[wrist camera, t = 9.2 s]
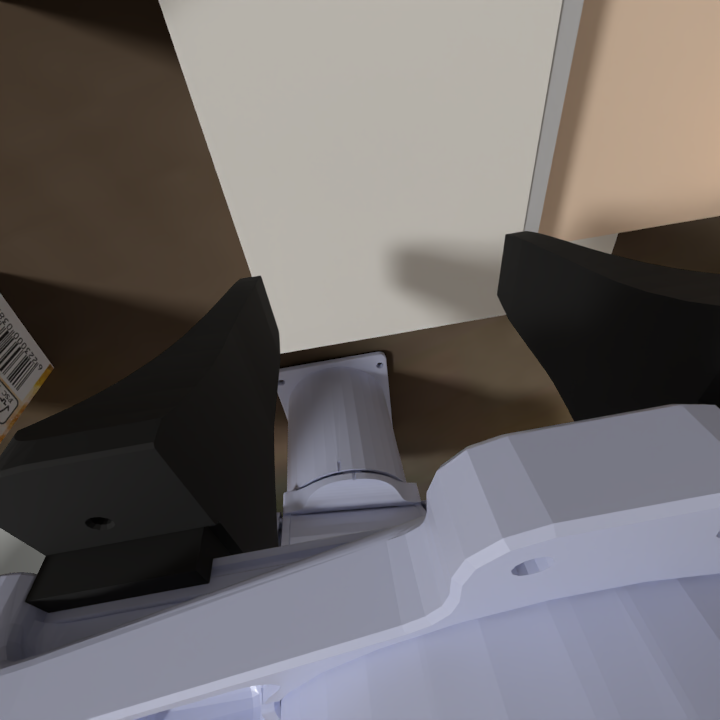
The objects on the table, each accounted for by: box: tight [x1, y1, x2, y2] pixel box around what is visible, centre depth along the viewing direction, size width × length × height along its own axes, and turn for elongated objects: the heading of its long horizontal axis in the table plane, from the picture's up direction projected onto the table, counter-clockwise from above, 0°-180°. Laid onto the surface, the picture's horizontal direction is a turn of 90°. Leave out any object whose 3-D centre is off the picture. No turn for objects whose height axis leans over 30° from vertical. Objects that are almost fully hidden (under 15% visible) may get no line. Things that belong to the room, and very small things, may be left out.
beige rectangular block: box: [538, 0, 720, 241], centre depth 16 cm, size 10×16×6 cm, turn 97°
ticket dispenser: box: [158, 0, 618, 354], centre depth 17 cm, size 14×20×5 cm
